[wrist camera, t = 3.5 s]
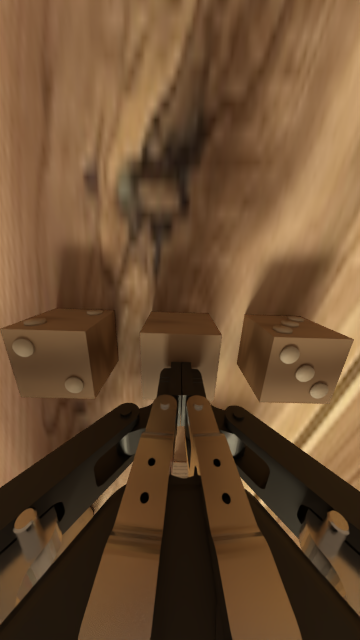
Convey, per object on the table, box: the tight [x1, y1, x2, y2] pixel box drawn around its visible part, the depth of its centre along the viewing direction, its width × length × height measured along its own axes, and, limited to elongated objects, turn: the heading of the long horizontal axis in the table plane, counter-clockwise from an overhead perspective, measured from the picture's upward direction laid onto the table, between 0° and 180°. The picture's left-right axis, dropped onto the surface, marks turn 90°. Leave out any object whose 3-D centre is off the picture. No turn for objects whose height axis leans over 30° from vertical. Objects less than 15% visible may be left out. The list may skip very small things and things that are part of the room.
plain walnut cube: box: [140, 311, 222, 401], centre depth 16 cm, size 6×6×6 cm
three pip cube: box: [237, 315, 354, 404], centre depth 16 cm, size 6×6×6 cm
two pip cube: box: [0, 308, 119, 399], centre depth 16 cm, size 6×6×6 cm
